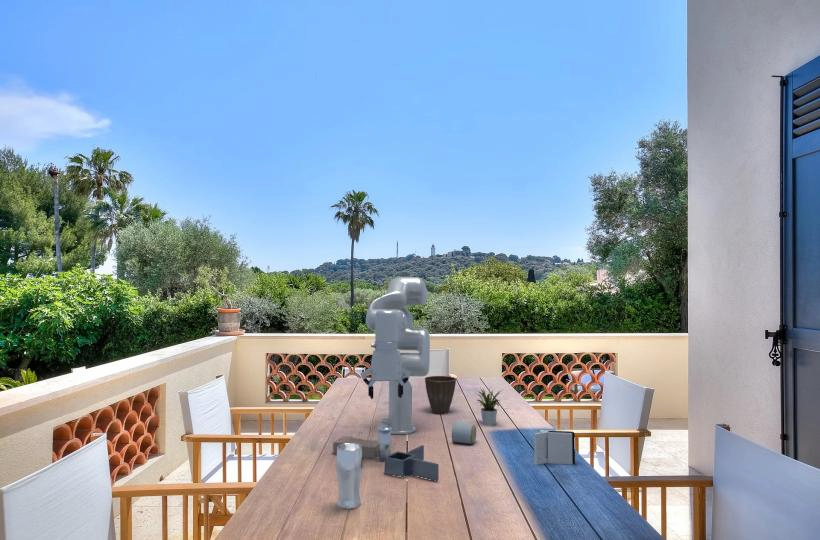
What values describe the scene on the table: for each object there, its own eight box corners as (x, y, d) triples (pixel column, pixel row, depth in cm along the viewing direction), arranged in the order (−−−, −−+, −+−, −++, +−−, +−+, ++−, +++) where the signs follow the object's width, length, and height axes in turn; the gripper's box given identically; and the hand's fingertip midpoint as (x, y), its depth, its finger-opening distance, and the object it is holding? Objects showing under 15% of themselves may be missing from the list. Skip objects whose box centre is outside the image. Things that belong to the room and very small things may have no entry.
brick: (385, 452, 174) (385, 439, 174) (375, 460, 166) (375, 446, 166) (342, 448, 179) (343, 435, 179) (331, 455, 171) (332, 441, 172)
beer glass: (336, 499, 133) (337, 443, 134) (362, 498, 133) (363, 442, 134) (334, 510, 126) (335, 451, 127) (362, 509, 126) (362, 450, 127)
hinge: (535, 465, 160) (534, 434, 161) (530, 460, 166) (530, 429, 166) (577, 464, 161) (576, 433, 162) (570, 459, 166) (570, 429, 167)
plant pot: (461, 411, 236) (461, 377, 237) (446, 417, 223) (446, 382, 224) (434, 407, 244) (434, 374, 245) (418, 413, 231) (418, 379, 232)
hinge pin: (374, 460, 164) (374, 427, 165) (383, 456, 169) (383, 424, 169) (386, 463, 162) (386, 430, 162) (395, 459, 166) (395, 426, 166)
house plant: (465, 426, 208) (465, 387, 209) (473, 418, 221) (473, 382, 222) (499, 429, 203) (498, 389, 204) (505, 421, 216) (505, 384, 217)
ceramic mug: (472, 446, 180) (472, 425, 180) (451, 444, 183) (451, 423, 183) (478, 439, 190) (478, 419, 190) (458, 437, 193) (458, 417, 193)
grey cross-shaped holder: (384, 473, 152) (384, 457, 153) (413, 458, 167) (414, 443, 167) (431, 485, 143) (431, 467, 143) (458, 468, 157) (458, 452, 158)
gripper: (362, 348, 162) (361, 400, 161) (413, 347, 166) (413, 398, 165) (359, 346, 169) (359, 396, 168) (408, 345, 173) (408, 394, 172)
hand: (385, 397), depth 166 cm, fingers open, 9 cm apart
